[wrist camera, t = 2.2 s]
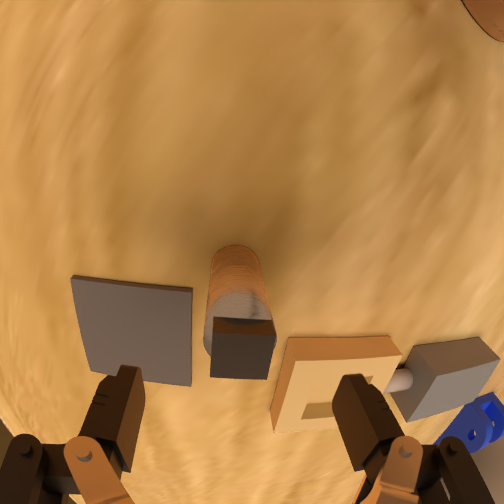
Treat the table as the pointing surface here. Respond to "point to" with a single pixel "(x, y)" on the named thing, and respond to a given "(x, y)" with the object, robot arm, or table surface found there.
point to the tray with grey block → (377, 377)
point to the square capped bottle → (238, 317)
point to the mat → (135, 328)
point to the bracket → (477, 423)
